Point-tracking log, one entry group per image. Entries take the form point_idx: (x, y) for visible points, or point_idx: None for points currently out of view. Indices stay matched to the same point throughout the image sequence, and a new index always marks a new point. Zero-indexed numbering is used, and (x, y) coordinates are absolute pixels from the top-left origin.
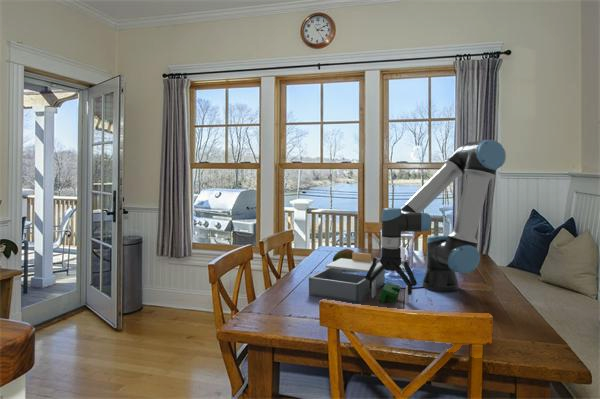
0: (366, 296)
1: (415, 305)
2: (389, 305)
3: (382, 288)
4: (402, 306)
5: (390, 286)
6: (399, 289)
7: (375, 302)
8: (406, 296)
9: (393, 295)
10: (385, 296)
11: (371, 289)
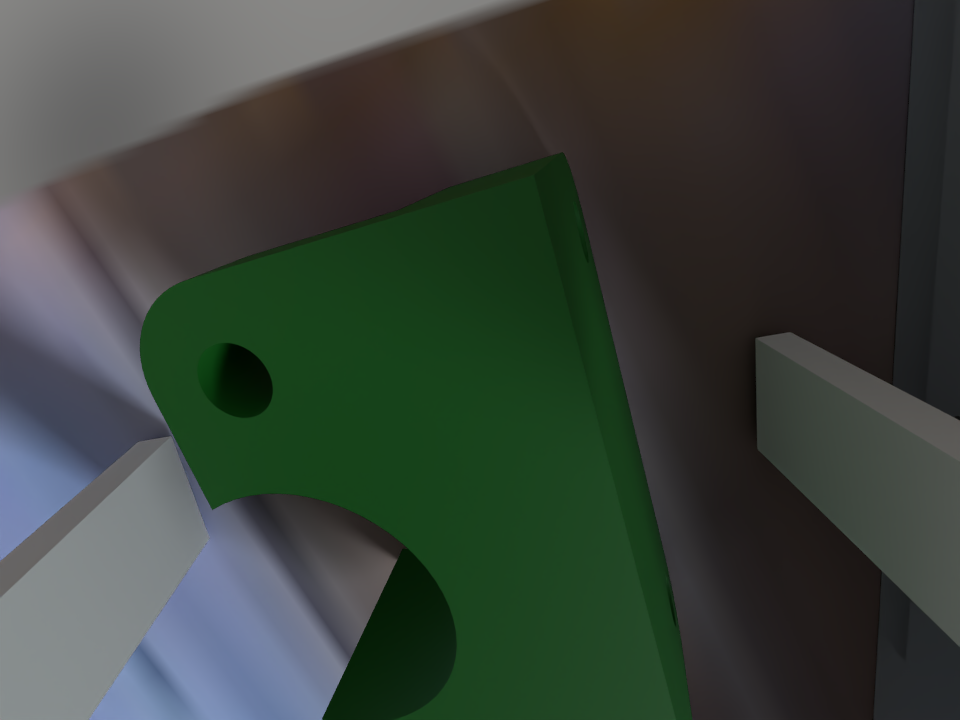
0: (900, 353)
1: (8, 462)
2: (337, 180)
3: (557, 277)
4: (128, 281)
5: (508, 665)
6: (340, 706)
7: (634, 172)
8: (76, 510)
9: (213, 270)
10: (420, 201)
11: (926, 615)
